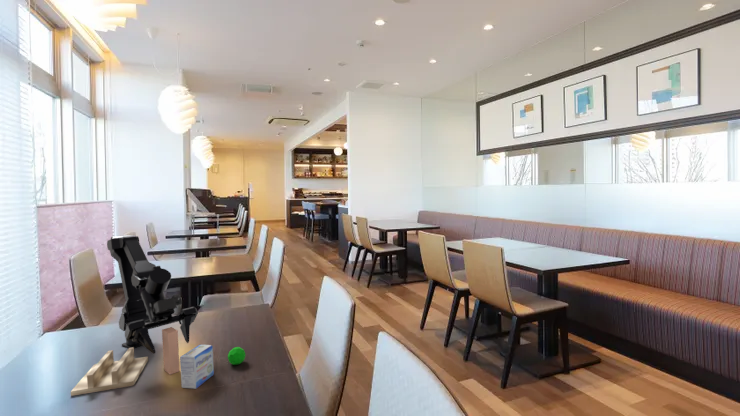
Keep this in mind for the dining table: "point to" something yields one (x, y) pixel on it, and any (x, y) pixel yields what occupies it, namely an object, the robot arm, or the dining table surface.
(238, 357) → the polyhedron
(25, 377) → the dining table surface
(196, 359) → the medicine box
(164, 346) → the pink rectangular block
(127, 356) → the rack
